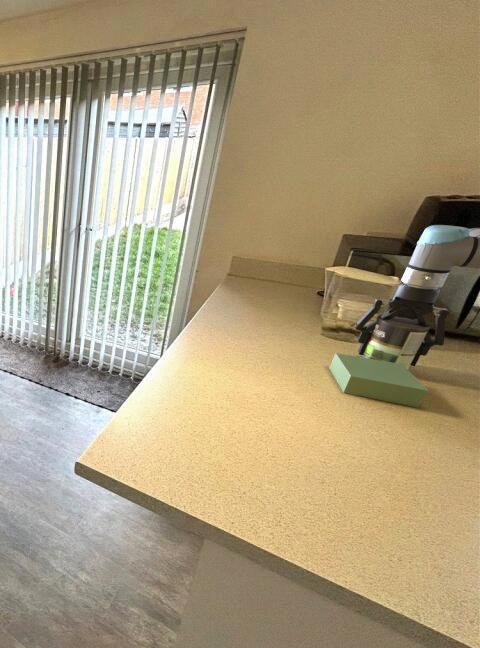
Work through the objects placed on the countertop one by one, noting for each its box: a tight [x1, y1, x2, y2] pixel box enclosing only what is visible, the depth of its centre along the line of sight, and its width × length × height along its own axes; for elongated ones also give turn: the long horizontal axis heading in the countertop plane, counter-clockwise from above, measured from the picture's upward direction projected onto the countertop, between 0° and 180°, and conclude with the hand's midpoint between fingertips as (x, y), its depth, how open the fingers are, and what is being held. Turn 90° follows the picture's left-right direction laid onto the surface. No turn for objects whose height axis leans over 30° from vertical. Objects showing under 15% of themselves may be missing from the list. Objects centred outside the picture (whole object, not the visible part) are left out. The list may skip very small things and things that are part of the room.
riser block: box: [328, 352, 428, 408], centre depth 103 cm, size 14×14×5 cm
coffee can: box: [359, 313, 431, 370], centre depth 111 cm, size 10×10×14 cm
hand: (385, 358), depth 113 cm, fingers closed on coffee can, 10 cm apart
